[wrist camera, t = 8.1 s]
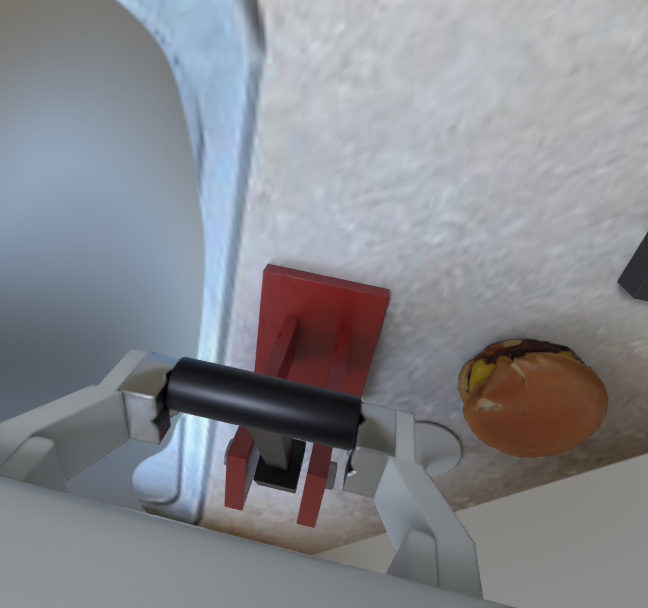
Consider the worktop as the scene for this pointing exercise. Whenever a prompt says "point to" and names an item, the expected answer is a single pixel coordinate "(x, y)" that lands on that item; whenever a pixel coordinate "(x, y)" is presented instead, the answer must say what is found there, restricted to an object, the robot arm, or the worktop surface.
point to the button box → (637, 273)
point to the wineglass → (436, 448)
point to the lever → (266, 413)
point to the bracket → (308, 362)
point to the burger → (531, 398)
